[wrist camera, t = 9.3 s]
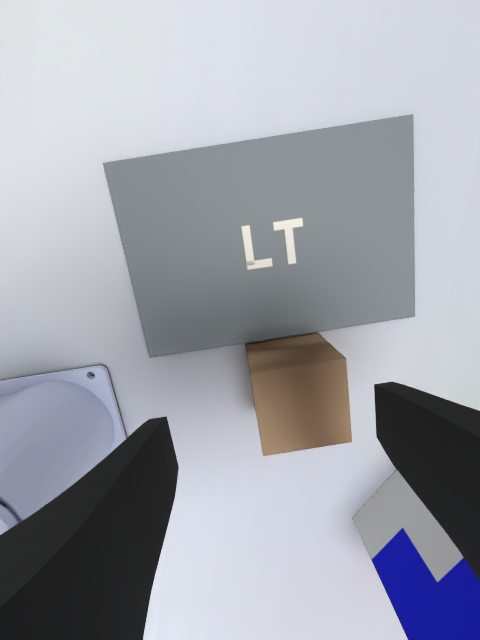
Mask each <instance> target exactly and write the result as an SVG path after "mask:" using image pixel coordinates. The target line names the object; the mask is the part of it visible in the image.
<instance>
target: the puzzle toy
mask: <svg viewBox="0 0 480 640" xmlns="http://www.w3.org/2000/svg"><path fill="white" fill-rule="evenodd" d="M352 519H353V521H354V523H355V525H356V527H357V529H358V532H359V534H360V536H361V538H362V540H363V542H364V545H365V547H366V549H367V551H368V553H369V555H370V558H371V560H372V562H373V564H374V566H375V568H376V571H377V573H378V575H379V577H380V579H381V582H382V584H383V586H384V588H385V590H386V592H387V595H388V597H389V599H390V601H391V603H392V605H393V608H394V610H395V612H396V614H397V616H398V618H399V621H400V623H401V625H402V627H403V629H404V631H405V634H406V636H407V638H408V640H480V582H479V580H478V579H477V577H476V576H475V574H474V573H473V571H472V570H471V568H470V567H469V565H468V563H467V562H466V560H465V559H464V557H463V556H462V554H461V553H460V551H459V550H458V548H457V547H456V546H455V544H454V543H453V542H452V540H451V539H450V537H449V536H448V535H447V533H446V532H445V531H444V529H443V528H442V527H441V526H440V524H439V523H438V522H437V520H436V519H435V518H434V517H433V515H432V514H431V513H430V511H429V510H428V509H427V508H426V506H425V505H424V504H423V502H422V501H421V500H420V499H419V497H418V496H417V495H416V494H415V492H414V491H413V490H412V488H411V487H410V486H409V485H408V483H407V482H406V481H405V479H404V478H403V477H402V475H401V474H400V473H399V472H398V470H397V469H396V470H395V471H394V473H393V474H392V475H391V476H390V477H389V478H388V479H387V480H386V481H385V482H384V484H383V485H382V486H381V487H380V488H379V489H378V490H377V491H376V492H375V493H374V495H373V496H372V497H371V498H370V499H369V500H368V501H367V502H366V503H365V504H364V506H363V507H362V508H361V509H360V510H359V511H358V512H357V513H356V514H355V515H354V517H353V518H352Z"/></svg>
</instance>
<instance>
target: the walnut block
mask: <svg viewBox="0 0 480 640" xmlns="http://www.w3.org/2000/svg"><path fill="white" fill-rule="evenodd" d="M245 347H246V353H247V359H248V365H249V372H250V378H251V384H252V390H253V397H254V403H255V409H256V415H257V421H258V427H259V433H260V439H261V446H262V452H263V456H267V455H273V454H279V453H286V452H292V451H298V450H304V449H311V448H317V447H323V446H329V445H336V444H342V443H348V442H352V434H351V421H350V407H349V394H348V380H347V367H346V358H345V357H344V356H343V355H342V354H341V353H340V352H338V351H337V350H336V349H335V348H334V347H333V346H332V345H331V344H330V343H328V342H327V341H326V340H325V339H324V338H323V337H322V336H321V335H320V334H319V333H310V334H304V335H298V336H292V337H285V338H279V339H273V340H267V341H260V342H254V343H248V344H245Z"/></svg>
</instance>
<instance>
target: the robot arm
mask: <svg viewBox="0 0 480 640" xmlns="http://www.w3.org/2000/svg"><path fill="white" fill-rule="evenodd" d="M90 372H93V373H94V375H95V377H93V376H91V375H90ZM374 389H375V411H376V434H377V438H378V440H379V442H380V443H381V445H382V447H383V449H384V450H385V452H386V454H387V455H388V457H389V459H390V460H391V462H392V463H393V465H394V466H395V468H396V469H397V470H398V472H399V473H400V474H401V475H402V477H403V478H404V479H405V481H406V482H407V483H408V485H409V486H410V487H411V488H412V490H413V491H414V492H415V494H416V495H417V496H418V497H419V499H420V500H421V501H422V502H423V504H424V505H425V506H426V508H427V509H428V510H429V511H430V513H431V514H432V515H433V517H434V518H435V519H436V520H437V522H438V523H439V524H440V526H441V527H442V528H443V529H444V531H445V532H446V533H447V535H448V536H449V537H450V539H451V540H452V542H453V543H454V544H455V546H456V547H457V548H458V550H459V551H460V553H461V554H462V556H463V557H464V559H465V560H466V562H467V563H468V565H469V567H470V568H471V570H472V571H473V573H474V574H475V576H476V577H477V579H478V580H479V582H480V411H478V410H475V409H472V408H469V407H466V406H463V405H460V404H457V403H454V402H451V401H449V400H446V399H443V398H440V397H437V396H434V395H432V394H429V393H426V392H423V391H420V390H417V389H415V388H412V387H409V386H406V385H402V384H399V383H395V382H388V383H381V384H375V385H374ZM177 476H178V463H177V459H176V454H175V450H174V446H173V442H172V438H171V433H170V429H169V425H168V421H167V417H161V418H154V419H149V420H148V421H146V422H145V423H144V424H142V425H141V426H140V427H139V428H138V429H137V430H136V431H134V432H133V433H132V434H131V435H130V436H129V437H128V438H126V435H125V431H124V428H123V424H122V420H121V417H120V413H119V410H118V406H117V403H116V399H115V395H114V392H113V388H112V385H111V381H110V377H109V374H108V371H107V369H106V368H105V367H104V366H102V365H97V366H91V367H84V368H78V369H71V370H65V371H59V372H52V373H46V374H39V375H33V376H26V377H20V378H13V379H7V380H1V381H0V640H143V635H144V629H145V623H146V617H147V611H148V605H149V600H150V595H151V590H152V586H153V581H154V576H155V573H156V569H157V565H158V561H159V557H160V553H161V549H162V545H163V542H164V538H165V534H166V530H167V526H168V522H169V518H170V514H171V510H172V506H173V502H174V498H175V491H176V484H177Z"/></svg>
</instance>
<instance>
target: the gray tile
mask: <svg viewBox="0 0 480 640" xmlns="http://www.w3.org/2000/svg"><path fill="white" fill-rule="evenodd" d="M103 165H104V170H105V174H106V178H107V182H108V186H109V191H110V195H111V199H112V203H113V207H114V211H115V216H116V220H117V224H118V228H119V232H120V236H121V241H122V245H123V249H124V253H125V257H126V261H127V266H128V270H129V274H130V278H131V282H132V286H133V291H134V295H135V299H136V303H137V307H138V311H139V316H140V320H141V324H142V328H143V332H144V336H145V341H146V345H147V349H148V353H149V357H157V356H163V355H170V354H176V353H183V352H189V351H196V350H202V349H208V348H215V347H221V346H228V345H234V344H241V343H247V342H254V341H260V340H267V339H273V338H279V337H286V336H292V335H299V334H305V333H312V332H318V331H325V330H331V329H338V328H344V327H350V326H357V325H363V324H370V323H376V322H383V321H389V320H396V319H402V318H409V317H415V267H414V148H413V114H412V115H406V116H400V117H393V118H387V119H380V120H374V121H368V122H361V123H355V124H349V125H342V126H336V127H329V128H323V129H317V130H310V131H304V132H298V133H291V134H285V135H279V136H272V137H266V138H259V139H253V140H247V141H240V142H234V143H228V144H221V145H215V146H208V147H202V148H196V149H189V150H183V151H177V152H170V153H164V154H157V155H151V156H145V157H138V158H132V159H126V160H119V161H113V162H106V163H103Z"/></svg>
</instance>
